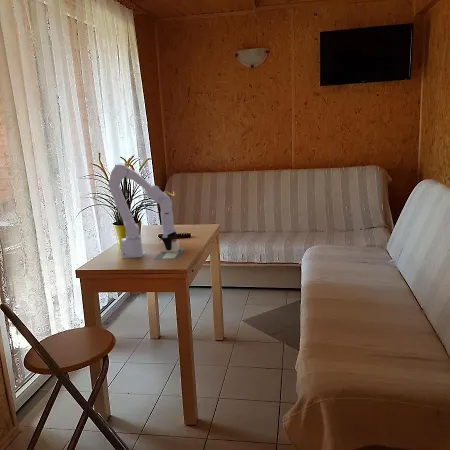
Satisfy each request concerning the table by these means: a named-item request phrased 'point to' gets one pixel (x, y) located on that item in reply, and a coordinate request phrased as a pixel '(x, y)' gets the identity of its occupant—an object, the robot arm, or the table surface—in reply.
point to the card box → (174, 246)
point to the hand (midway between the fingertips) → (170, 248)
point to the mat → (169, 255)
